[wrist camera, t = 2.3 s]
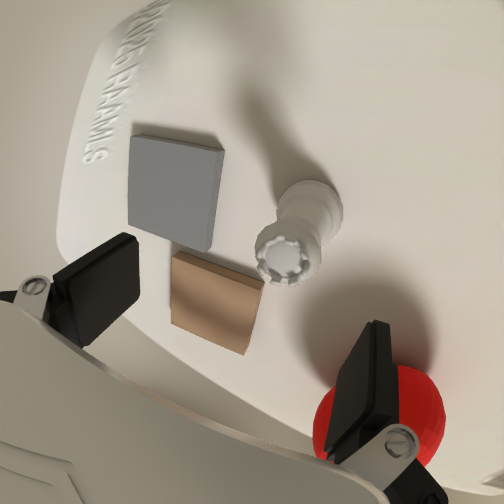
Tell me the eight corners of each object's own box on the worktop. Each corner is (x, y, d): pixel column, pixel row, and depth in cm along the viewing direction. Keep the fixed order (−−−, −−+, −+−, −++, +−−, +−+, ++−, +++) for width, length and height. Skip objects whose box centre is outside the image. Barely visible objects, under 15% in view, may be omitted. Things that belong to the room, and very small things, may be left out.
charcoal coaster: (140, 134, 22) (130, 136, 21) (224, 150, 20) (217, 152, 19) (136, 219, 26) (128, 224, 25) (211, 246, 24) (204, 253, 23)
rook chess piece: (290, 244, 22) (253, 308, 15) (272, 186, 20) (222, 226, 13) (350, 234, 20) (340, 299, 13) (335, 171, 18) (318, 205, 11)
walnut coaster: (179, 250, 25) (172, 256, 24) (264, 282, 24) (259, 290, 23) (176, 316, 29) (170, 323, 28) (248, 347, 28) (243, 355, 27)
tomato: (360, 426, 28) (343, 504, 19) (302, 371, 27) (268, 462, 18) (455, 391, 22) (461, 480, 13) (413, 320, 20) (421, 432, 12)
